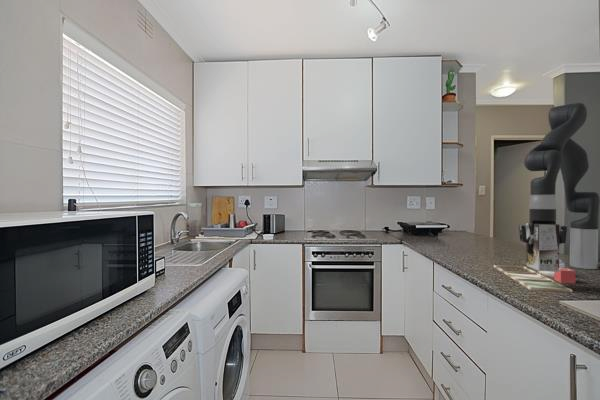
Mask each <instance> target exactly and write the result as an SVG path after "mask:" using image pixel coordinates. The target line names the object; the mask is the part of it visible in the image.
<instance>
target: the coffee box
mask: <svg viewBox="0 0 600 400" xmlns="http://www.w3.org/2000/svg"><path fill="white" fill-rule="evenodd" d="M528 224H529V222H526V224H525V225H528ZM560 226H561V224H557V223H556V224H549V223H544V224H534V231H533V232H532V230H530V229H529V228H528V230H527V231H526V237H527V238H528V236H529V234H530V235H534V234H535V238H534V242H533V243H532V244H533V255H530V254H528V253H527V252H526V266H527V268H528V267H529V268H530V269H532V270H533V269H534V270H535V271H537V272H538V271H550V272H559V259H560V244H559V234H560Z"/></svg>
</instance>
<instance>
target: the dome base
mask: <svg viewBox="0 0 600 400" xmlns="http://www.w3.org/2000/svg"><path fill="white" fill-rule="evenodd" d="M537 273H539V274H542V275H543V276H545V277H552V278H554V272H550V271H538V270H537Z"/></svg>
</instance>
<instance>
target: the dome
mask: <svg viewBox="0 0 600 400" xmlns="http://www.w3.org/2000/svg"><path fill="white" fill-rule="evenodd" d="M559 268H566V266H565V262H563V259H561V258H559Z"/></svg>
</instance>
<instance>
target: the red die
mask: <svg viewBox="0 0 600 400" xmlns="http://www.w3.org/2000/svg"><path fill="white" fill-rule="evenodd" d="M576 273H577V272H576V270H573V269H570V268H568V267H567V268H566V267H565V268H559V272H554V277H553V278H554V279H553V281H555V282H557V283H559V284H561V283H562V284H576Z"/></svg>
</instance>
